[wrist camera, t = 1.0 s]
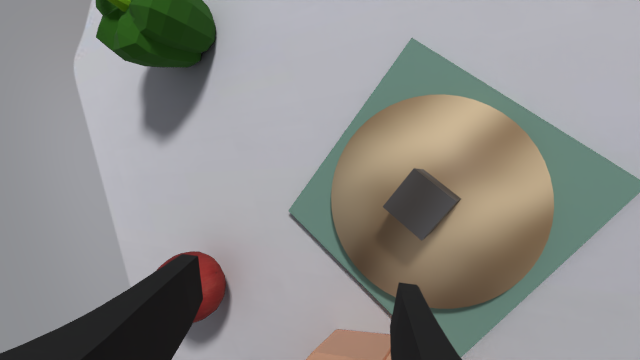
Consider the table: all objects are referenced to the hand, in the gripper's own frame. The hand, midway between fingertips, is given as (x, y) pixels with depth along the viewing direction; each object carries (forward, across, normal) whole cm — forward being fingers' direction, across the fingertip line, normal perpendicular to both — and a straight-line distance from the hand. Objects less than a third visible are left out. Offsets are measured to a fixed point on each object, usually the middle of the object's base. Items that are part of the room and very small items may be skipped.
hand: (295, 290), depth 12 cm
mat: (+13, -7, +2) cm, 15 cm away
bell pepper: (+26, +15, -6) cm, 31 cm away
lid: (+12, -7, +2) cm, 14 cm away
